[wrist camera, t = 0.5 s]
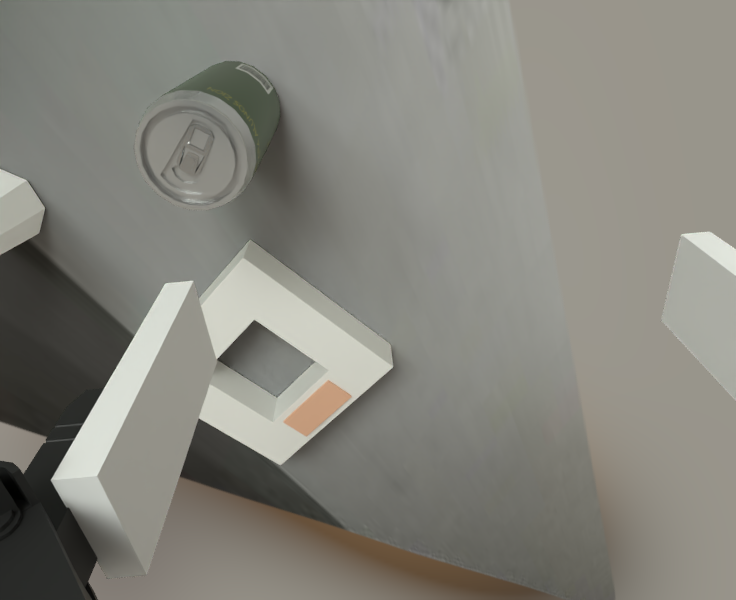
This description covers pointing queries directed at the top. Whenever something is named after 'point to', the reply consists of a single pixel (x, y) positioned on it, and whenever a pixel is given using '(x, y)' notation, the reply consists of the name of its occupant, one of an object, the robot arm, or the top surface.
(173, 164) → the beer can
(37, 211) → the salt shaker
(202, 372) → the robot arm
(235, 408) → the socket block
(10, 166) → the top surface
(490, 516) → the top surface
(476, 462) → the top surface
